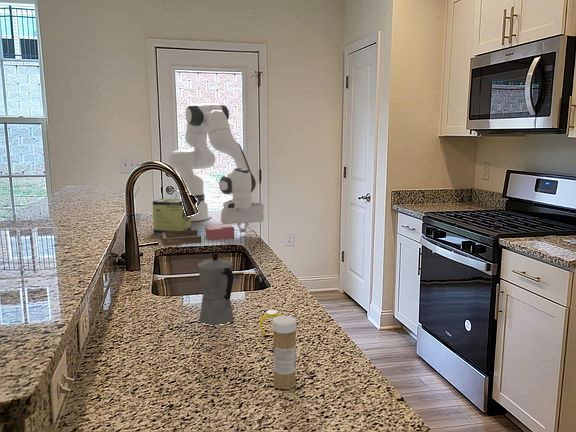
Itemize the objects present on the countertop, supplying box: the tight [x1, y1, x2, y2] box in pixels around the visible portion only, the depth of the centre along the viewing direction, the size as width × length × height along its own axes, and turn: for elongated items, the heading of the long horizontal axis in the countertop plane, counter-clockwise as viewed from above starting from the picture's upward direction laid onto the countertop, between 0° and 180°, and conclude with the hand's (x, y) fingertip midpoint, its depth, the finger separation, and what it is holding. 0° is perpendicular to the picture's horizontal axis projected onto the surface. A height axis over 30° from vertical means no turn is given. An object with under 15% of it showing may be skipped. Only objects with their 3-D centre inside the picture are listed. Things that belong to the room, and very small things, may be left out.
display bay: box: [161, 229, 202, 245], centre depth 216 cm, size 15×16×2 cm
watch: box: [259, 309, 283, 335], centre depth 114 cm, size 6×3×6 cm, turn 101°
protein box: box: [152, 198, 192, 234], centre depth 233 cm, size 10×16×16 cm
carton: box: [204, 224, 236, 241], centre depth 221 cm, size 9×12×5 cm
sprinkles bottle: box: [271, 315, 298, 390], centre depth 90 cm, size 5×5×13 cm
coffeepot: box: [197, 252, 235, 325], centre depth 121 cm, size 15×9×18 cm, turn 35°
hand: (242, 232), depth 224 cm, fingers closed
